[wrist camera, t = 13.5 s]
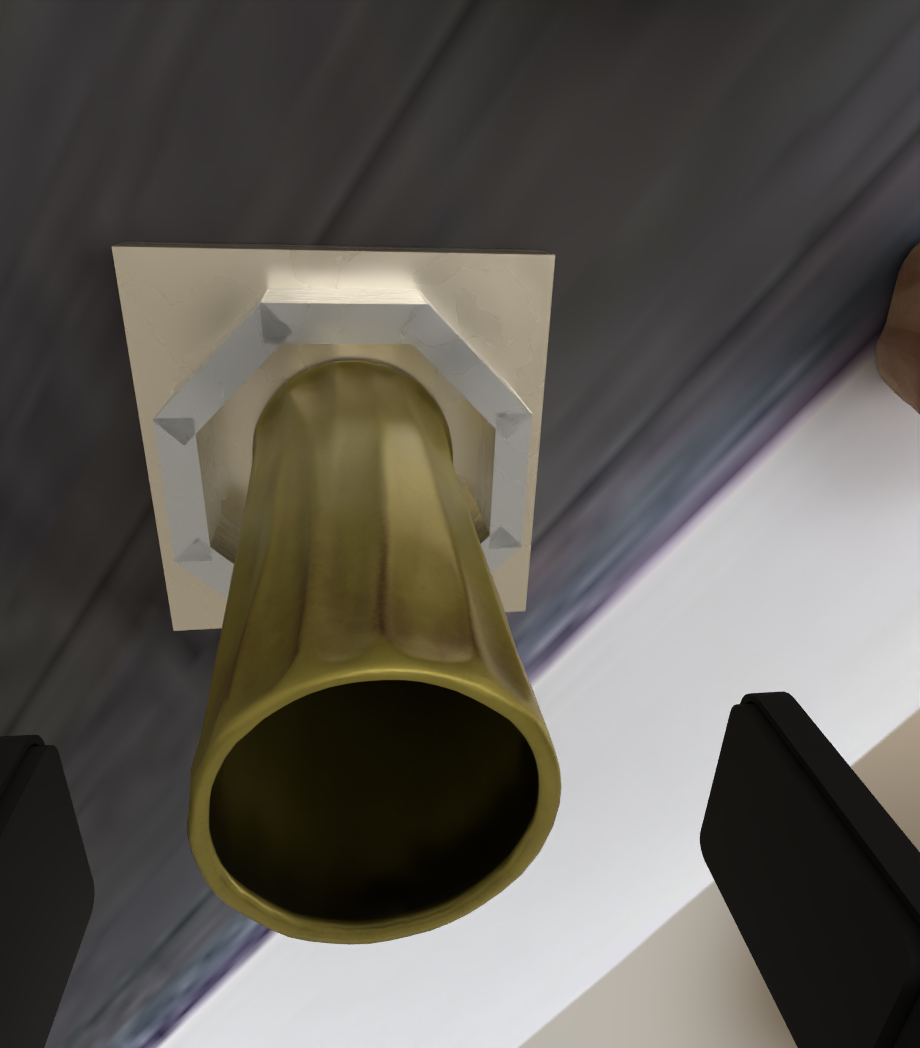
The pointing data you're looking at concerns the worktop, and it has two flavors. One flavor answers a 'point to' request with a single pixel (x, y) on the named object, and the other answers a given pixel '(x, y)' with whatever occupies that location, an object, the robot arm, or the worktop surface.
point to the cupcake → (903, 334)
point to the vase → (364, 681)
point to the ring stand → (316, 339)
